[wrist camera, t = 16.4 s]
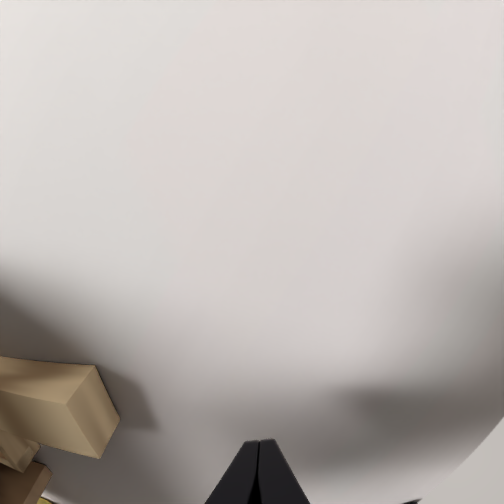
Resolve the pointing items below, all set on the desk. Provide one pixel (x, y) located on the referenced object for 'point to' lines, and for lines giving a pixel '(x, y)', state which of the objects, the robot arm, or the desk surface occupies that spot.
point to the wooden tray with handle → (52, 410)
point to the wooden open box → (23, 483)
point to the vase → (43, 501)
